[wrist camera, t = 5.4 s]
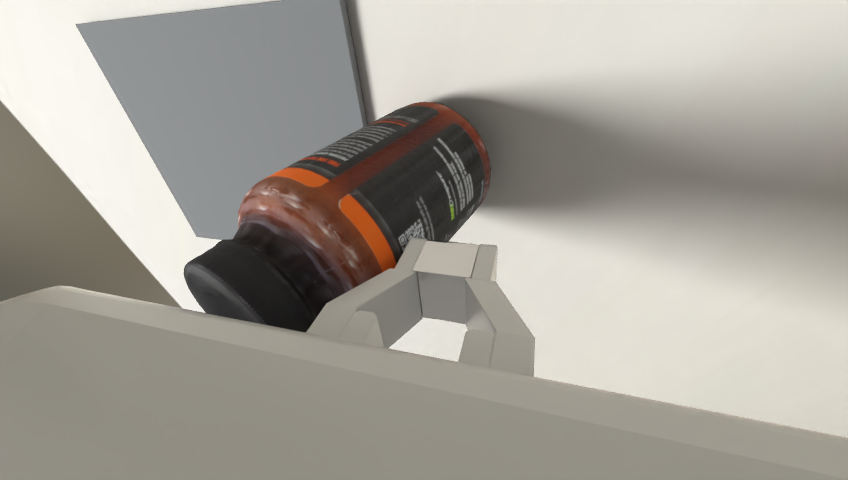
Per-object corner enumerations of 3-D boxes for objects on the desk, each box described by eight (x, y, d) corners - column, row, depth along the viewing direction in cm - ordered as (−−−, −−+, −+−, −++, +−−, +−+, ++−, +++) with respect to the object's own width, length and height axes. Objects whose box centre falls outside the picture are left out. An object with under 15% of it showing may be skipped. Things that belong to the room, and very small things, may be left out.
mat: (343, -7, 14) (338, -6, 14) (390, 255, 22) (388, 260, 22) (85, 23, 19) (75, 24, 18) (201, 233, 27) (196, 236, 27)
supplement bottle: (371, 140, 18) (147, 262, 11) (443, 67, 14) (152, 189, 7) (435, 229, 19) (269, 394, 12) (521, 187, 15) (344, 407, 8)
